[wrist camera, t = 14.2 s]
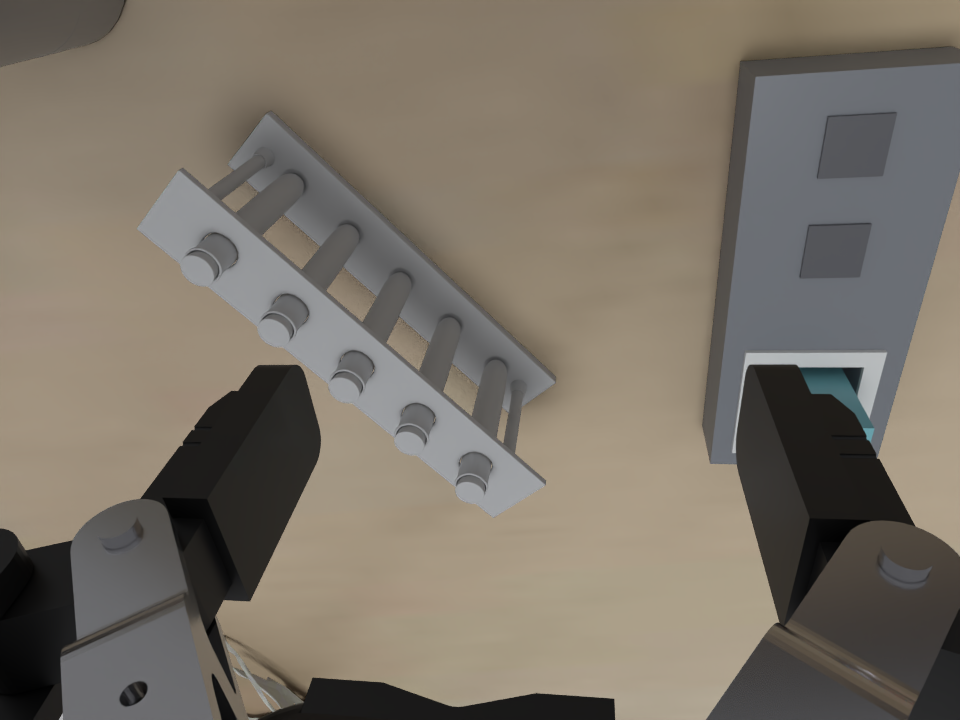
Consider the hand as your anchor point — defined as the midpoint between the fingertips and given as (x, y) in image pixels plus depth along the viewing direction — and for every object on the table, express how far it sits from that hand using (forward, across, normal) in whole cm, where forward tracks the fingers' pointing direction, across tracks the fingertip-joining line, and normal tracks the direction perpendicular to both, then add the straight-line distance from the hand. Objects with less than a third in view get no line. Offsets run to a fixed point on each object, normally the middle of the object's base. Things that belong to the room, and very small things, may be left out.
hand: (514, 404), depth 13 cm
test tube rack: (+30, +11, +12) cm, 34 cm away
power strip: (+29, -14, +12) cm, 35 cm away
